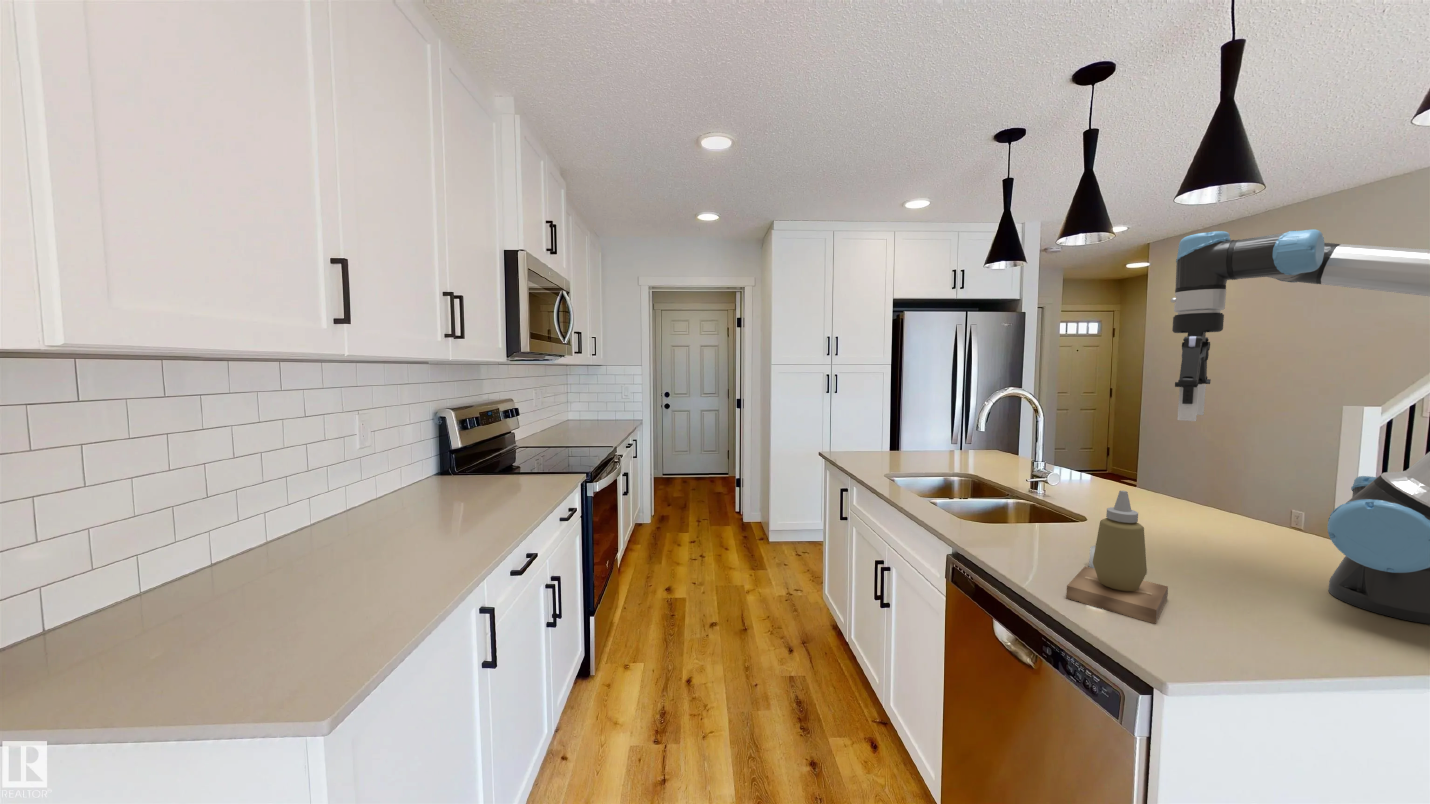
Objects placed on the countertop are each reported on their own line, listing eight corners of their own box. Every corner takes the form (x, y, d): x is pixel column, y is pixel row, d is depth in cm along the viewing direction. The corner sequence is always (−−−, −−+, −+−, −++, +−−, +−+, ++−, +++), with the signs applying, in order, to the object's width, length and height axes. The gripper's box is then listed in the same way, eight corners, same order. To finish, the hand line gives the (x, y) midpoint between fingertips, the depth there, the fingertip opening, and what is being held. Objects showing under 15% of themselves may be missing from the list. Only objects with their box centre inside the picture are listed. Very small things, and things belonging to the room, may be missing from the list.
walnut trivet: (1167, 599, 97) (1168, 585, 97) (1155, 624, 88) (1156, 609, 88) (1084, 577, 106) (1084, 565, 106) (1066, 598, 98) (1066, 584, 98)
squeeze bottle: (1157, 591, 94) (1163, 495, 93) (1123, 597, 92) (1129, 499, 91) (1112, 573, 102) (1118, 484, 100) (1081, 579, 100) (1085, 487, 98)
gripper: (1181, 316, 115) (1175, 411, 117) (1164, 311, 99) (1157, 421, 100) (1228, 314, 110) (1221, 413, 112) (1218, 308, 93) (1210, 425, 95)
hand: (1190, 417), depth 106 cm, fingers open, 13 cm apart
